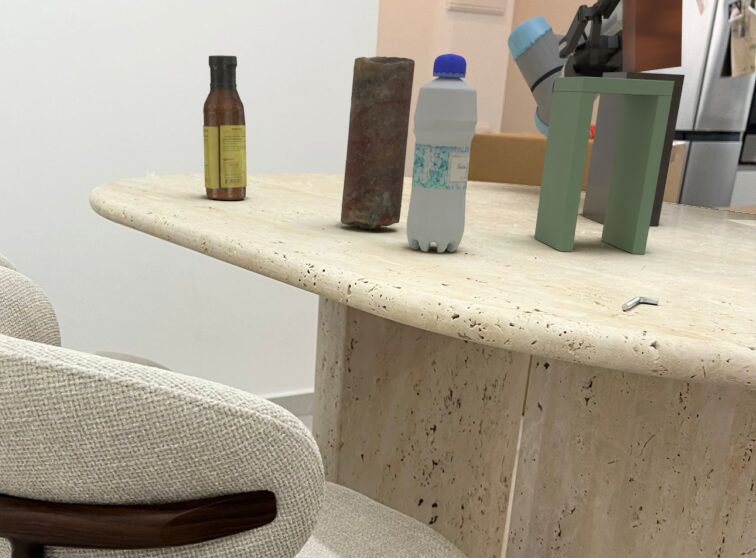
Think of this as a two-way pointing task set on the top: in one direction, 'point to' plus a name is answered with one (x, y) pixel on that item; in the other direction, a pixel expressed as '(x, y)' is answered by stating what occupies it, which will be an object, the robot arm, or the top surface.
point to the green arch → (630, 165)
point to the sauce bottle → (224, 133)
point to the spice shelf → (607, 142)
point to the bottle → (441, 156)
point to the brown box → (650, 34)
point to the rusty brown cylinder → (377, 141)
